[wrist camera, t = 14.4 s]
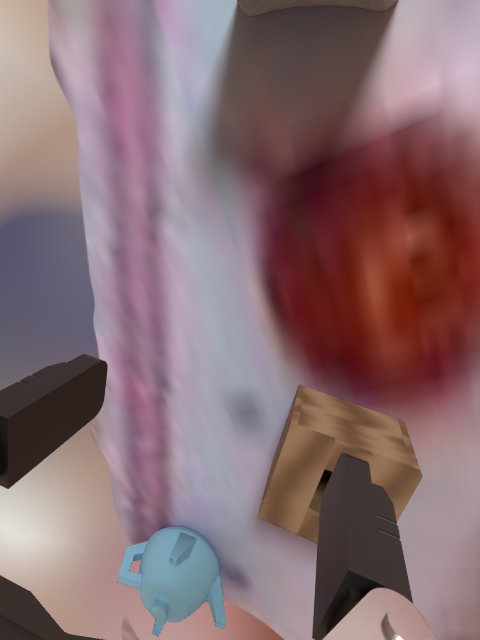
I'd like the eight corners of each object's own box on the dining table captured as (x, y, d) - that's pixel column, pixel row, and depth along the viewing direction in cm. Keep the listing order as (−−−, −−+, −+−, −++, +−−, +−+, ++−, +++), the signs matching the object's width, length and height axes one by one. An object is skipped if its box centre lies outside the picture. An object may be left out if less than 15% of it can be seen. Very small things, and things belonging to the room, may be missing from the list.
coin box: (404, 421, 43) (422, 476, 34) (365, 499, 48) (371, 566, 39) (299, 384, 46) (290, 427, 37) (272, 462, 51) (257, 517, 41)
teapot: (199, 508, 58) (170, 569, 48) (242, 576, 59) (223, 648, 49) (135, 526, 63) (97, 583, 53) (176, 587, 65) (147, 653, 55)
